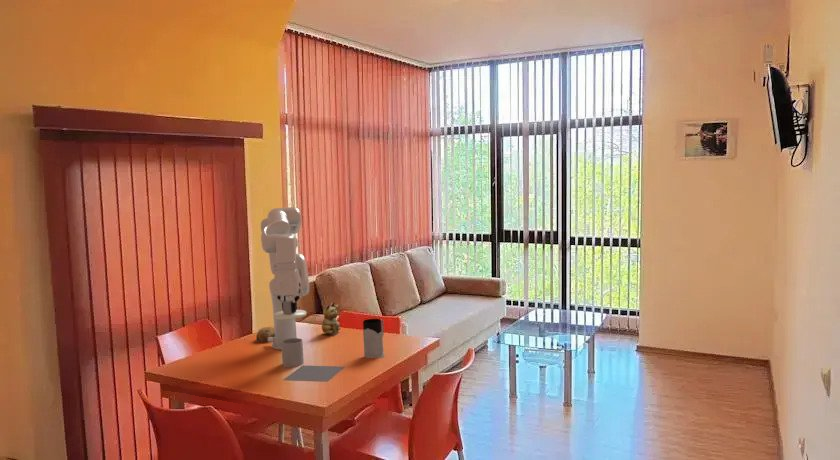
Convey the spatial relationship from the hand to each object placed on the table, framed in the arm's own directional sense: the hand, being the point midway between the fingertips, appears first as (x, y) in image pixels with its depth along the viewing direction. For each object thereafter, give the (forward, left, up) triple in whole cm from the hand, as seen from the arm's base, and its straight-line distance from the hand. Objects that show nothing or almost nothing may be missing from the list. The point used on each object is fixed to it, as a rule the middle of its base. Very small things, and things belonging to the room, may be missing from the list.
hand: (289, 311), depth 252 cm
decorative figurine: (-4, +50, -22) cm, 55 cm away
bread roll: (-31, +38, -22) cm, 54 cm away
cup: (0, 0, -22) cm, 22 cm away
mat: (+14, -11, -22) cm, 28 cm away
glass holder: (+30, +17, -22) cm, 41 cm away
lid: (0, 0, -2) cm, 2 cm away
